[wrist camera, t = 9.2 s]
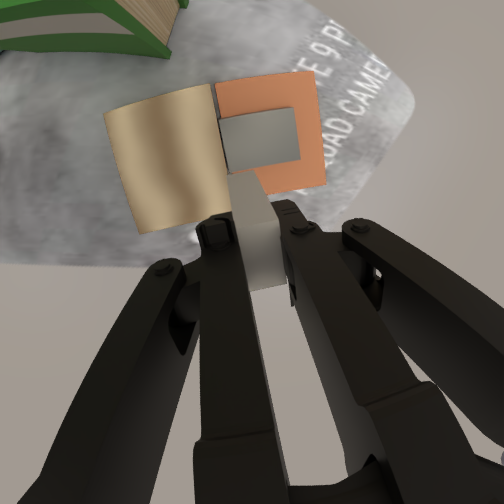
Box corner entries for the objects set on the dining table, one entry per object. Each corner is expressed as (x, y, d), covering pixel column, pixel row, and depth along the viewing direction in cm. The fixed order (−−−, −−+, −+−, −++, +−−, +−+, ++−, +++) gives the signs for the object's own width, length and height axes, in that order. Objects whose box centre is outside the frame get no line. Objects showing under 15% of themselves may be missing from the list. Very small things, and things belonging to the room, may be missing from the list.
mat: (237, 199, 35) (237, 200, 35) (214, 83, 28) (214, 83, 28) (325, 183, 36) (326, 184, 35) (312, 71, 28) (313, 70, 28)
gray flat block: (228, 169, 33) (229, 173, 32) (218, 118, 30) (218, 119, 29) (297, 156, 33) (300, 159, 32) (289, 106, 30) (293, 107, 29)
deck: (146, 219, 35) (139, 234, 32) (115, 110, 28) (103, 113, 25) (233, 200, 35) (235, 213, 32) (210, 84, 28) (209, 83, 25)
